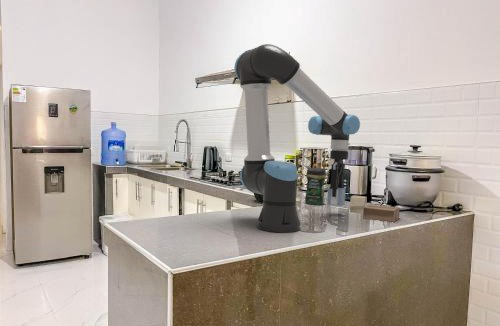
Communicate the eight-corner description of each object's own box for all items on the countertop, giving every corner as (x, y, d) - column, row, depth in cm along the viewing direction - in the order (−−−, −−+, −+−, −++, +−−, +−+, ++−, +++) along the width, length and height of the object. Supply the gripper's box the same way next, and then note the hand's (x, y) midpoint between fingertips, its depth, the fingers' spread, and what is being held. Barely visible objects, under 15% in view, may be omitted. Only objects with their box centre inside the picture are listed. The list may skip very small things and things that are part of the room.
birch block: (363, 213, 175) (364, 198, 175) (350, 212, 178) (350, 196, 178) (366, 211, 181) (366, 196, 180) (352, 210, 183) (353, 195, 183)
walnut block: (393, 223, 156) (393, 211, 156) (363, 219, 162) (363, 207, 162) (399, 219, 166) (399, 207, 166) (370, 215, 172) (371, 204, 172)
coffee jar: (303, 203, 198) (304, 167, 197) (308, 202, 205) (309, 167, 204) (321, 205, 193) (323, 168, 193) (326, 204, 200) (327, 168, 199)
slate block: (341, 206, 164) (342, 189, 164) (327, 204, 167) (328, 188, 167) (344, 204, 170) (345, 188, 169) (331, 203, 172) (332, 187, 172)
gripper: (342, 150, 157) (339, 207, 158) (353, 151, 174) (350, 202, 175) (324, 149, 161) (321, 204, 162) (336, 150, 178) (333, 200, 178)
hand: (336, 203), depth 168 cm, fingers closed on slate block, 6 cm apart
